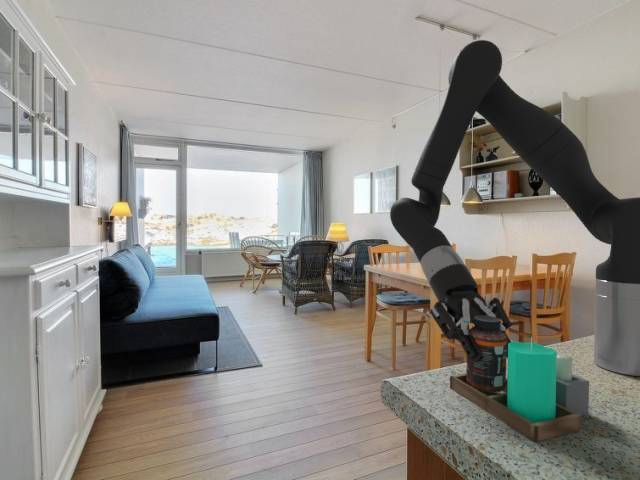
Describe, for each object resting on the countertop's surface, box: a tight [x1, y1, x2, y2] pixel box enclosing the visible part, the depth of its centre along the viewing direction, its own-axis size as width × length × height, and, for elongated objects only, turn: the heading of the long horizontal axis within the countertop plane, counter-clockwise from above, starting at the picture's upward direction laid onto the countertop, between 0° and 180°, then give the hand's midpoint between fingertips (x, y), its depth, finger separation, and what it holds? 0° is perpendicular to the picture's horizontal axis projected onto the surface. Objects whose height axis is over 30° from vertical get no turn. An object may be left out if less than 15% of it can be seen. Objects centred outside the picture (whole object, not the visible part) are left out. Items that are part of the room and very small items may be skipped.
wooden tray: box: [449, 373, 582, 443], centre depth 54 cm, size 8×16×2 cm, turn 18°
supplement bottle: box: [465, 315, 507, 393], centre depth 57 cm, size 6×6×11 cm
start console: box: [556, 373, 590, 417], centre depth 53 cm, size 5×5×5 cm
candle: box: [506, 336, 558, 423], centre depth 50 cm, size 6×6×12 cm
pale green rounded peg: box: [556, 353, 573, 382], centre depth 52 cm, size 2×2×6 cm
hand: (494, 357), depth 56 cm, fingers closed on supplement bottle, 6 cm apart
